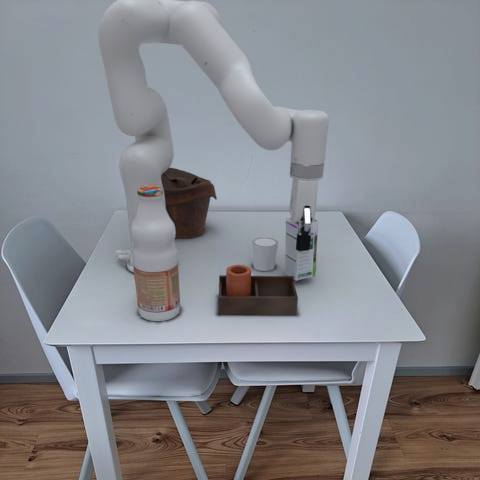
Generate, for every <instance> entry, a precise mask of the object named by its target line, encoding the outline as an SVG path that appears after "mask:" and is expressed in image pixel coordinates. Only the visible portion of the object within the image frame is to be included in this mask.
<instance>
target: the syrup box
mask: <svg viewBox="0 0 480 480" xmlns="http://www.w3.org/2000/svg"><path fill="white" fill-rule="evenodd" d="M301 221H304V219H301ZM298 226H299V225H298V222H296V223H294V222H293V221H292V218H291V217H287V218H286V219H285V240H284V241H285V244H284V245H285V248H284V249H285V250H284V273H285V274H286V275H287V276H294V281H295V282H297V281H300V280H304V279H308V278H314V277H316V270H317V255H318V253H317V251H318V235H319V234H318V233H319V221H318V219H316V218H315V219H314V222H313V223H311V240H310V249H309V250H308V251H301V250H296V240H297V234H298ZM302 226H304V224H301V228H302Z"/></svg>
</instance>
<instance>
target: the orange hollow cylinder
mask: <svg viewBox="0 0 480 480" xmlns="http://www.w3.org/2000/svg"><path fill="white" fill-rule="evenodd" d="M225 275H226V296H250V292H251V276H252V269H251V268H250V267H249V266H247V265H244V264H232V265H230V266H227V268H226V270H225Z"/></svg>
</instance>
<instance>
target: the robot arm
mask: <svg viewBox="0 0 480 480" xmlns="http://www.w3.org/2000/svg"><path fill="white" fill-rule="evenodd" d="M155 43H156V44H169V45H177V46H179V45H180V46H182V48H183V49H184V50H185V51H186V52H187V54H188V55H189V56H190V57H191V58H192V60H193V61H194V62H195V63H196V65H197V66H198V67H199V68H200V69H201V71H202V72H203V73H204V74H205V75H206V77H207V78H208V79H209V80H210V82H212V84H213V85H214V86H215V88H216V89H217V90H218V93H219V94H220V97H221V98H222V100H223V101H224V102H225V104H226V106H227V107H228V110H229V111H230V112H231V115H232V116H233V117H234V118H235V120H236V121H237V123H238V124H239V125H240V126H241V128H242V129H243V130H244V131H245V132H246V133H247V134H248V136H249V137H250V138H251V139H252V140H253V142H255V144H256V145H257V146H259V147H260V148H261V149H264V150H267V151H277V150H279V149H281V148H283V147H284V146H285V145H286V143H287V142H290V143H291V147H290V148H291V150H290V152H291V153H290V165H289V177H290V178H291V179H292V183H291V189H290V191H291V192H290V201H289V215H290V218H292V221H293V222H294V223H296V222H298V225H299V226H298V234H297V240H296V250H301V251H308V250H309V249H310V240H311V223H313V222H314V219H316V213H317V212H316V210H317V199H318V189H319V188H318V186H319V185H318V184H319V180H320V181H321V180H322V179H323V178H324V172H325V171H324V170H325V161H326V151H327V141H328V133H329V124H330V123H329V120H330V118H329V115H328V113H327V112H325V111H323V110H318V109H293V108H289V107H284V106H274V105H273V104H272V102H270V100H269V99H268V98H267V96H266V95H265V93H263V91H262V90H261V88H260V87H259V84H258V83H257V81H256V79H255V76H254V74H253V70H252V66H251V64H250V61H249V59H248V58H247V56H246V55H245V54H244V52H243V51H242V50H241V48H240V47H239V46H238V44H236V42H235V41H234V39H232V37H231V36H230V35H229V34H228V32H227V30H225V28H224V27H223V26H222V20H221V17H220V14H219V12H218V10H217V9H216V7H214V6H213V5H211V3H208V2H207V1H201V0H115V1H114V2H112V3H111V4H110V6H108V7H107V9H106V10H105V12H104V13H103V15H102V17H101V19H100V23H99V26H98V46H99V52H100V55H101V60H102V63H103V68H104V73H105V78H106V83H107V89H108V93H109V98H110V102H111V108H112V114H113V118H114V121H115V123H116V126H117V128H118V129H119V130H120V131H121V132H122V133H123V134H124V135H126V136H130V137H134V140H135V141H134V142H132V143H130V144H129V145H128V146H127V147H126V148H125V149H124V150H123V151H122V153H121V155H120V157H119V163H118V164H119V167H118V168H119V174H120V178H121V181H122V186H123V190H124V195H125V203H126V210H127V211H126V212H127V220H128V229H129V240H130V248H127V249H115V251H114V252H115V254H114V256H115V258H118V260H119V261H126V267H127V269H128V271H130V272H131V273H133V274H134V267H133V249H134V242H133V240H132V237H131V225H132V223H133V221H134V219H135V217H136V213H137V209H138V205H139V201H140V198H139V197H138V194H137V189H138V187H140V186H143V185H158V186H161V187H162V190H163V196H162V201H163V203H164V206H165V208H166V204H165V194H164V189H163V185H162V181H161V175H162V174H163V173H164V172H165V171H166V170H167V169H168V168H171V166H172V163H173V161H174V158H175V157H174V155H175V154H174V153H175V151H174V144H173V137H172V131H171V125H170V119H169V113H168V109H167V104H166V102H165V100H164V98H163V97H162V95H161V94H160V93H159V92H158V91H157V90H155V89H154V88H152V87H149V86H148V82H147V76H146V75H147V74H146V70H145V66H144V65H145V64H144V62H143V60H142V59H143V58H142V56H141V54H140V47H141V45H143V44H155ZM301 219H304V221H301ZM301 224H304V226H302V228H301Z"/></svg>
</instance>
